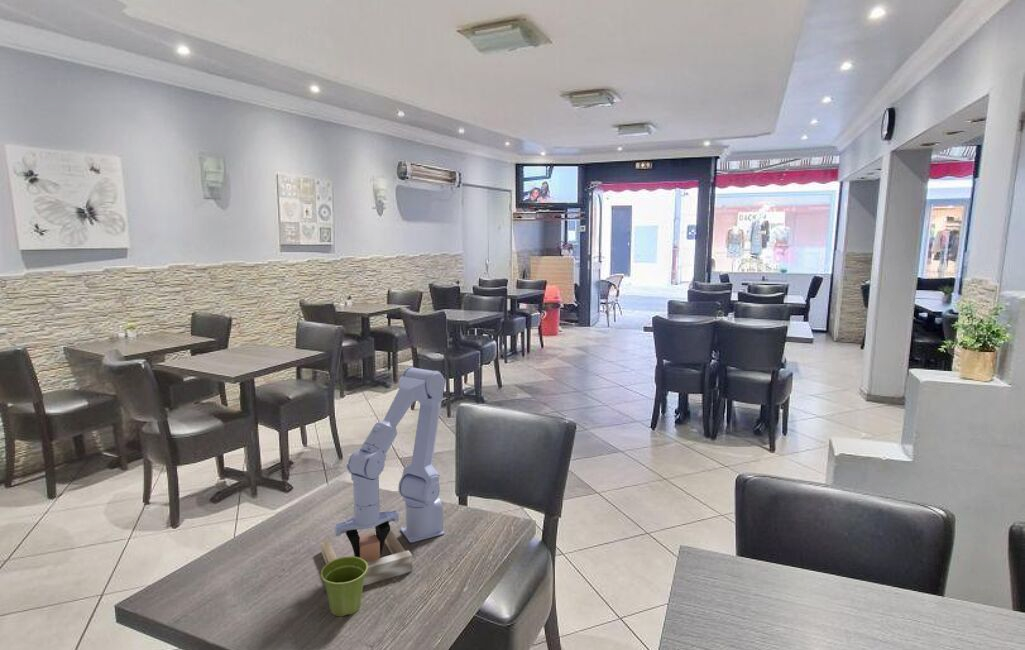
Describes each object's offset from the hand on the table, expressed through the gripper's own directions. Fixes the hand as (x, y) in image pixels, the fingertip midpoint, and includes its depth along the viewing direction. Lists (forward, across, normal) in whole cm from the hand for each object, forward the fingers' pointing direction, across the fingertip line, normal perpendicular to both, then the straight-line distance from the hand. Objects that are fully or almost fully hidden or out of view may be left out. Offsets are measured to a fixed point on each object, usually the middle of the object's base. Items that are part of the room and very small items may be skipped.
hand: (368, 555), depth 127 cm
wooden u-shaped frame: (+3, 0, -3) cm, 4 cm away
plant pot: (+3, +8, +12) cm, 15 cm away
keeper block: (+2, 0, 0) cm, 2 cm away
